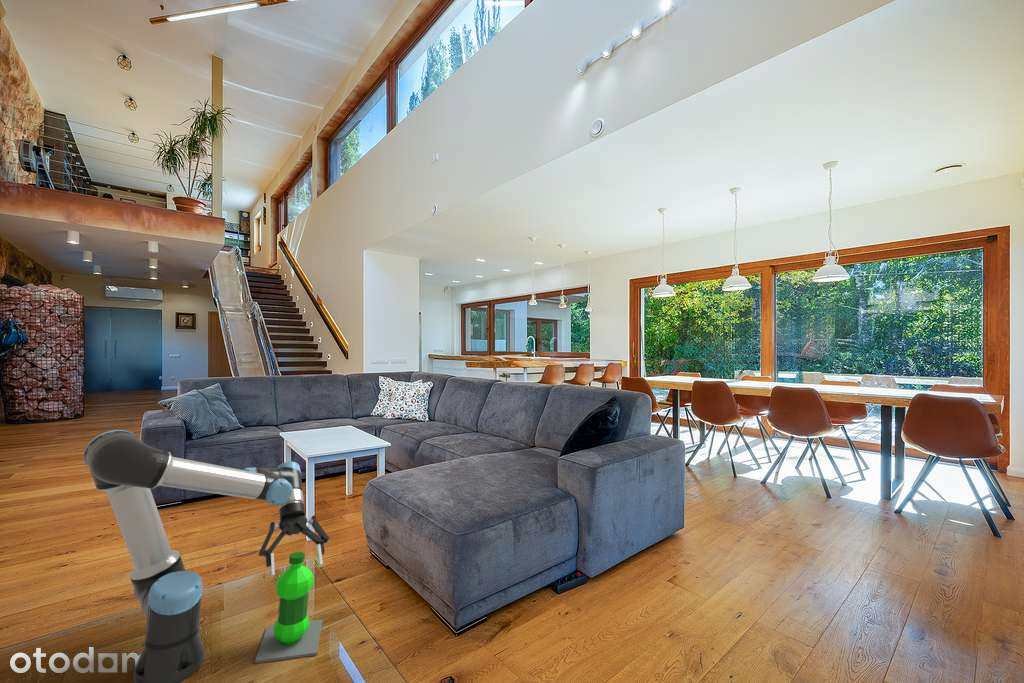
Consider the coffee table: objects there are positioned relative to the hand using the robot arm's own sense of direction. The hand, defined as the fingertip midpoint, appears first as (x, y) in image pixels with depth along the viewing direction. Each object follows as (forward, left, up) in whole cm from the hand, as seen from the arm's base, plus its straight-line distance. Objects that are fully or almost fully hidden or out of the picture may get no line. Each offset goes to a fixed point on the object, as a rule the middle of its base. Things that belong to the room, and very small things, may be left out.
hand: (297, 571), depth 136 cm
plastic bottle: (0, -3, -19) cm, 19 cm away
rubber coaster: (0, -4, -19) cm, 19 cm away
